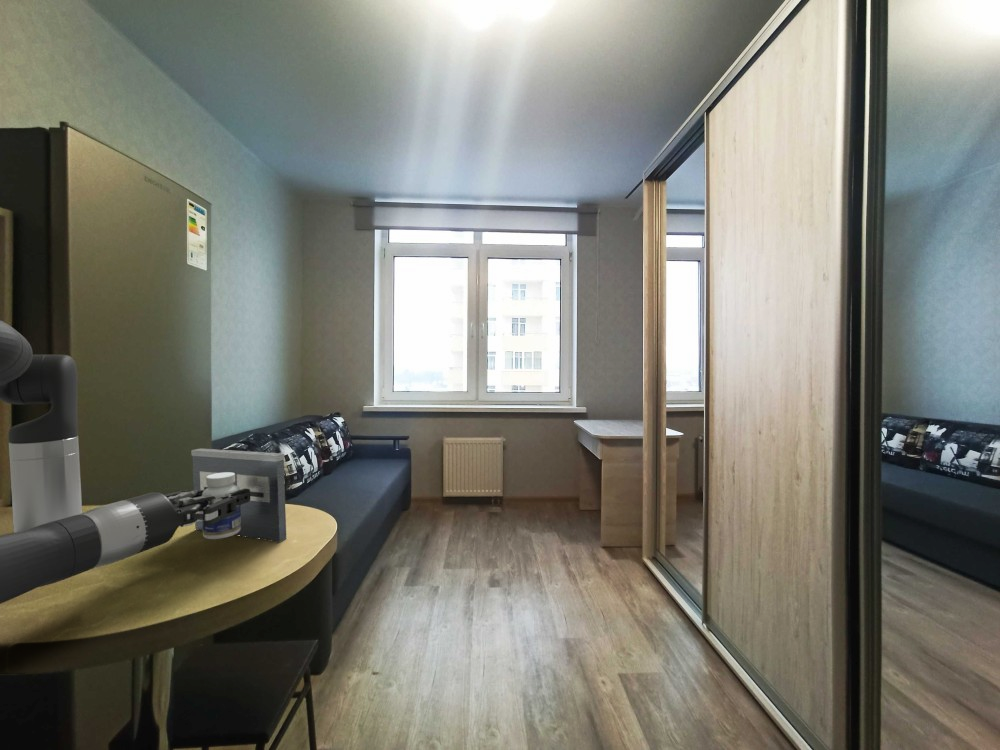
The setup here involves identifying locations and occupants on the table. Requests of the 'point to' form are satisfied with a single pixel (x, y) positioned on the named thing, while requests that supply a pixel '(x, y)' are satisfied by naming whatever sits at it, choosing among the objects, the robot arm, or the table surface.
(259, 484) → the label panel
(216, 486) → the pill bottle
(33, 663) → the table surface
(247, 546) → the table surface
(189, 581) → the table surface
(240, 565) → the table surface
